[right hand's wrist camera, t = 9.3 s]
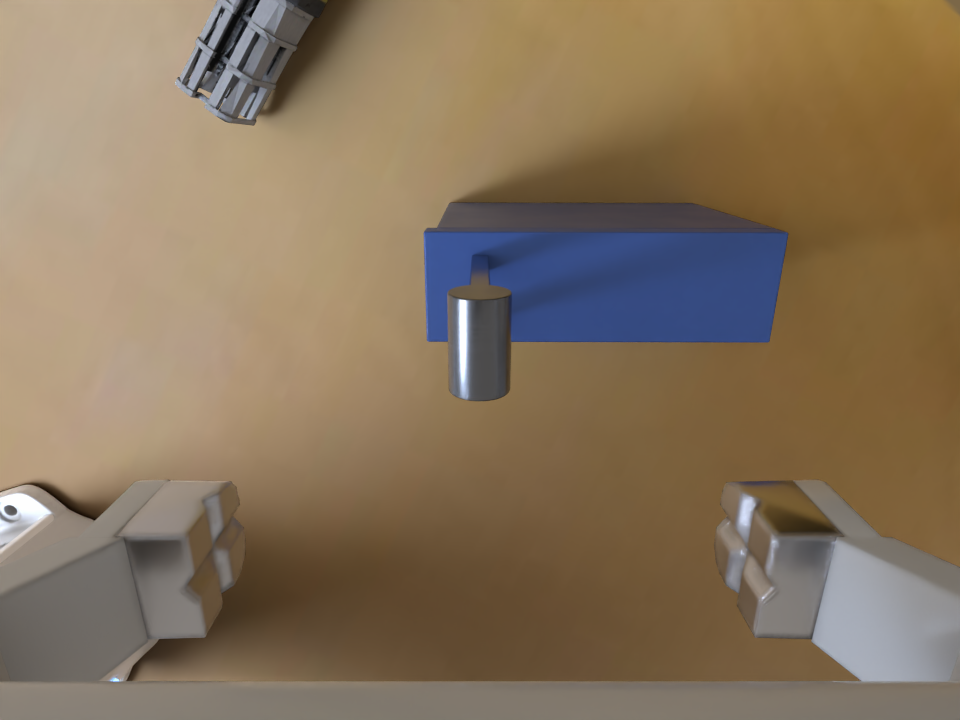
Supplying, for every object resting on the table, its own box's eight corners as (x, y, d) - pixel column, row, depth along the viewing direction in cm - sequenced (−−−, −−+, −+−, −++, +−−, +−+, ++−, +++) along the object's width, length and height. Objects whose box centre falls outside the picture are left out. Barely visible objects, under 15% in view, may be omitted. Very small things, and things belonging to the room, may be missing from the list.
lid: (428, 333, 27) (404, 424, 19) (426, 227, 26) (397, 273, 17) (758, 334, 27) (886, 425, 19) (776, 228, 26) (925, 274, 17)
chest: (450, 281, 37) (439, 333, 27) (449, 202, 36) (436, 227, 26) (683, 281, 37) (757, 334, 27) (693, 203, 36) (775, 228, 26)
